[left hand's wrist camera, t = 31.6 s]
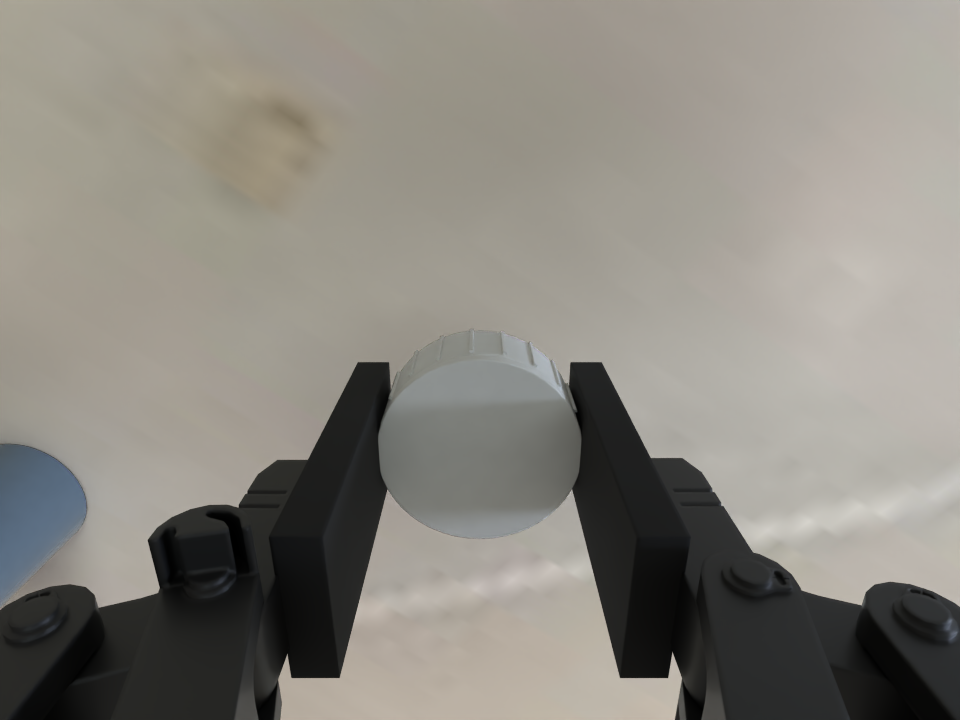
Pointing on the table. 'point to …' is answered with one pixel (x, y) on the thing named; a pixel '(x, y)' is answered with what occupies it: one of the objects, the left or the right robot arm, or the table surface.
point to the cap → (479, 436)
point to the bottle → (34, 513)
